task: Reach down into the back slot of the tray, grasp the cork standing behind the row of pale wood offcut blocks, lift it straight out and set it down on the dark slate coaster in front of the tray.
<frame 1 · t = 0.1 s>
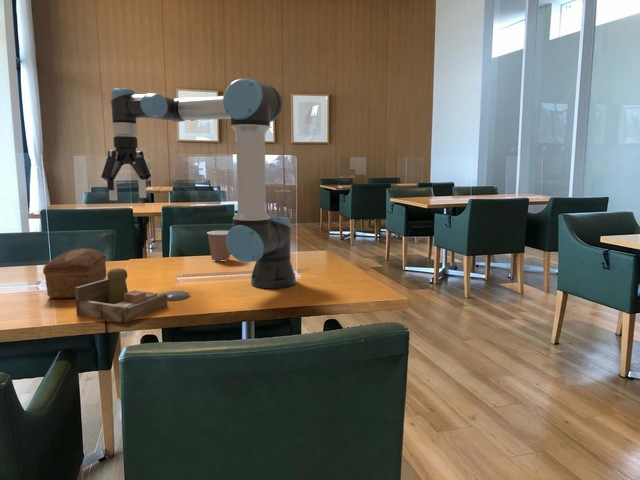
hand: (128, 199, 167), 28 cm above the table, fingers open, 13 cm apart
bread: (79, 289, 157), on the table
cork: (119, 307, 137), resting in tray
offcut b: (135, 312, 133), resting in tray
offcut c: (123, 317, 129), resting in tray
coffee cup: (220, 260, 204), on the table
coaster: (174, 296, 148), on the table
offcut a: (147, 307, 137), resting in tray
tray: (123, 310, 134), on the table
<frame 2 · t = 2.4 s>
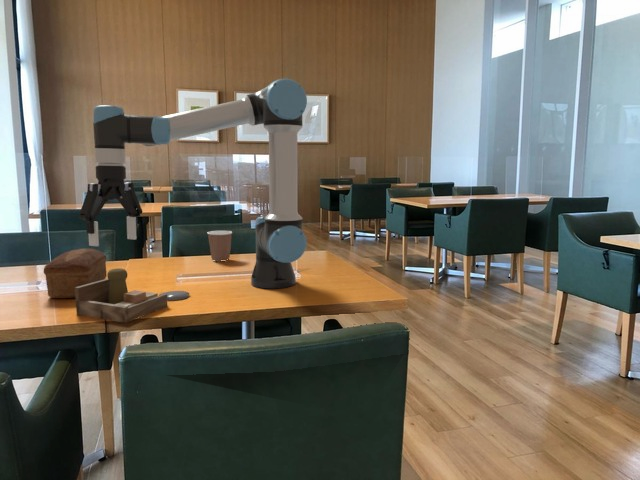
hand: (113, 242, 134), 19 cm above the table, fingers open, 13 cm apart
nothing on the table moved.
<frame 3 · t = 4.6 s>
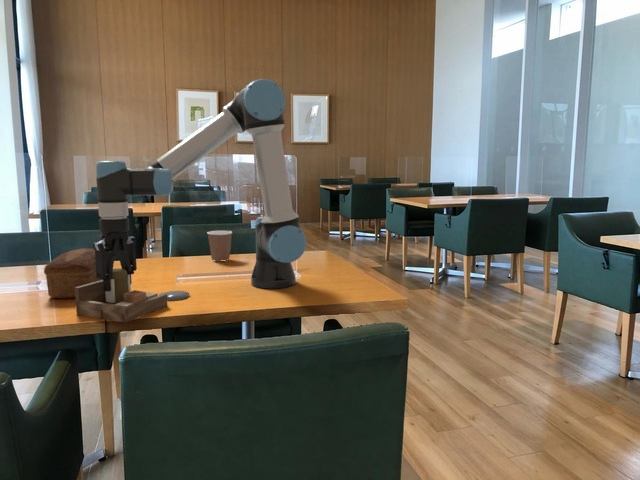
hand: (118, 299, 137), 2 cm above the table, fingers closed on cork, 5 cm apart
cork: (119, 307, 137), resting in tray, touching gripper
everything else where it was.
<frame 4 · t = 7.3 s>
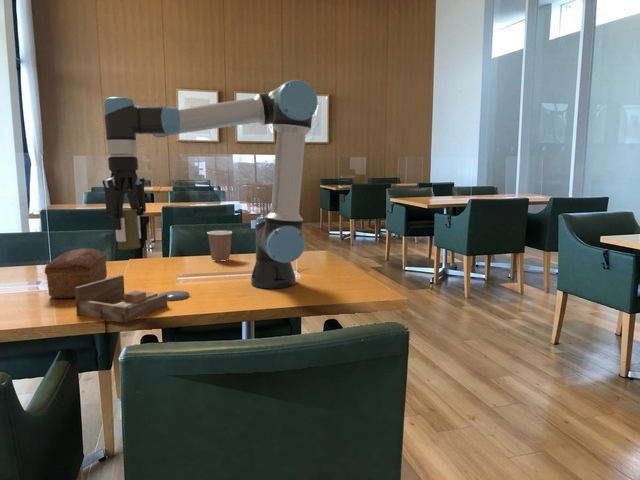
hand: (128, 239, 137), 19 cm above the table, fingers closed on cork, 5 cm apart
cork: (129, 248, 137), point 17 cm above the table, touching gripper
everything else where it was.
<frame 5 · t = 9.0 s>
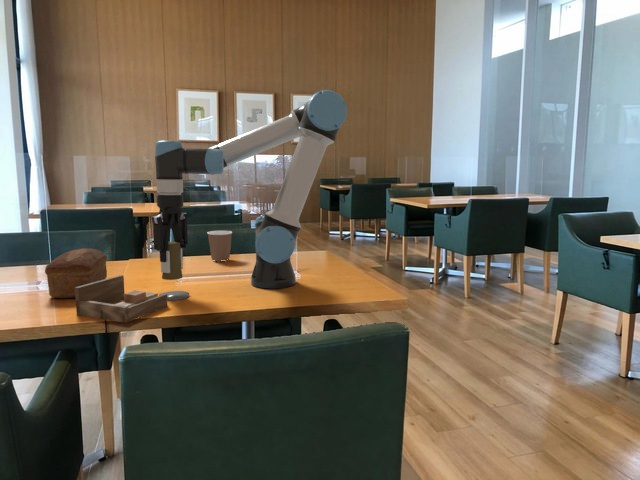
hand: (172, 270, 147), 8 cm above the table, fingers closed on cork, 5 cm apart
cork: (172, 278, 148), point 6 cm above the table, touching gripper
everything else where it was.
when the fingers open (4 cm above the table, at t = 10.2 s): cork stays where it is, resting on coaster.
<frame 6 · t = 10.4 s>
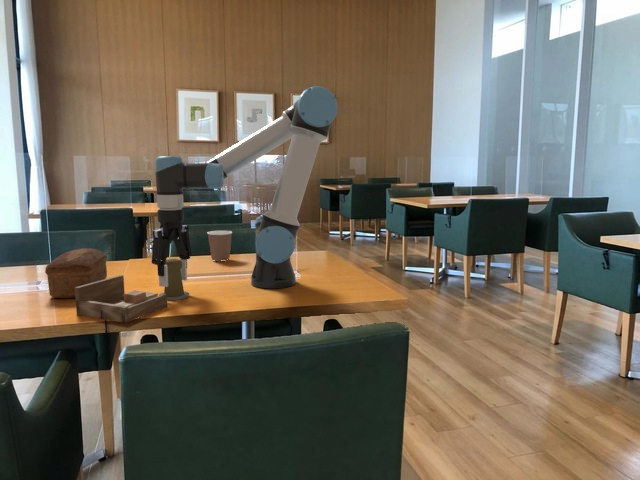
hand: (173, 282, 148), 4 cm above the table, fingers open, 8 cm apart
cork: (174, 295, 148), resting on coaster
everything else where it was.
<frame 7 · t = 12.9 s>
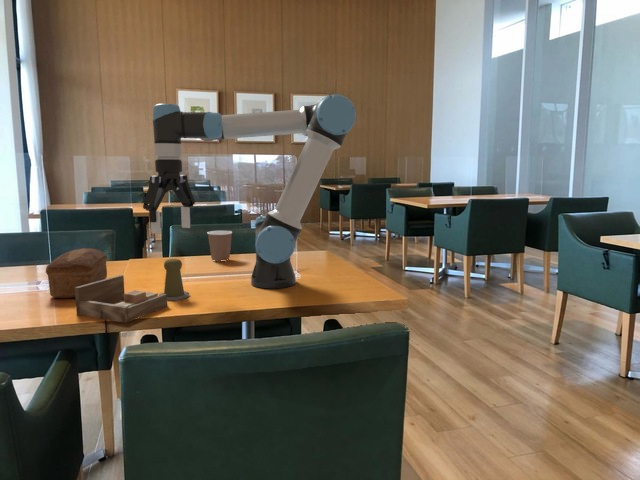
hand: (171, 230, 145), 20 cm above the table, fingers open, 13 cm apart
nothing on the table moved.
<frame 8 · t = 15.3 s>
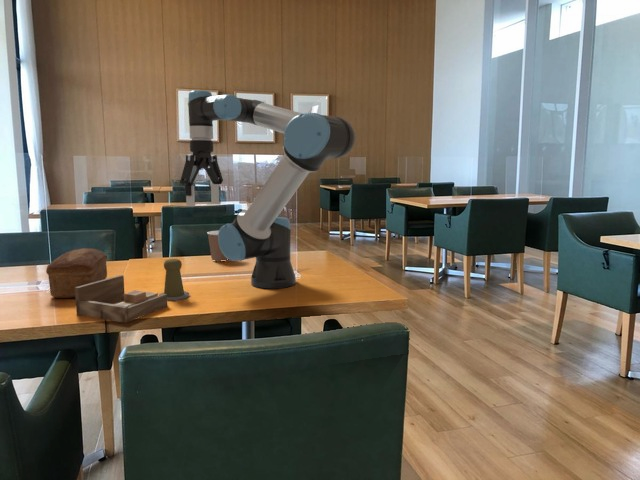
hand: (203, 204, 162), 27 cm above the table, fingers open, 13 cm apart
nothing on the table moved.
at the end: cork inside the target area on the coaster (0.0 cm from its centre), point 0.4 cm above the coaster's base; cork tilted 0°; the gripper is holding nothing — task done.
